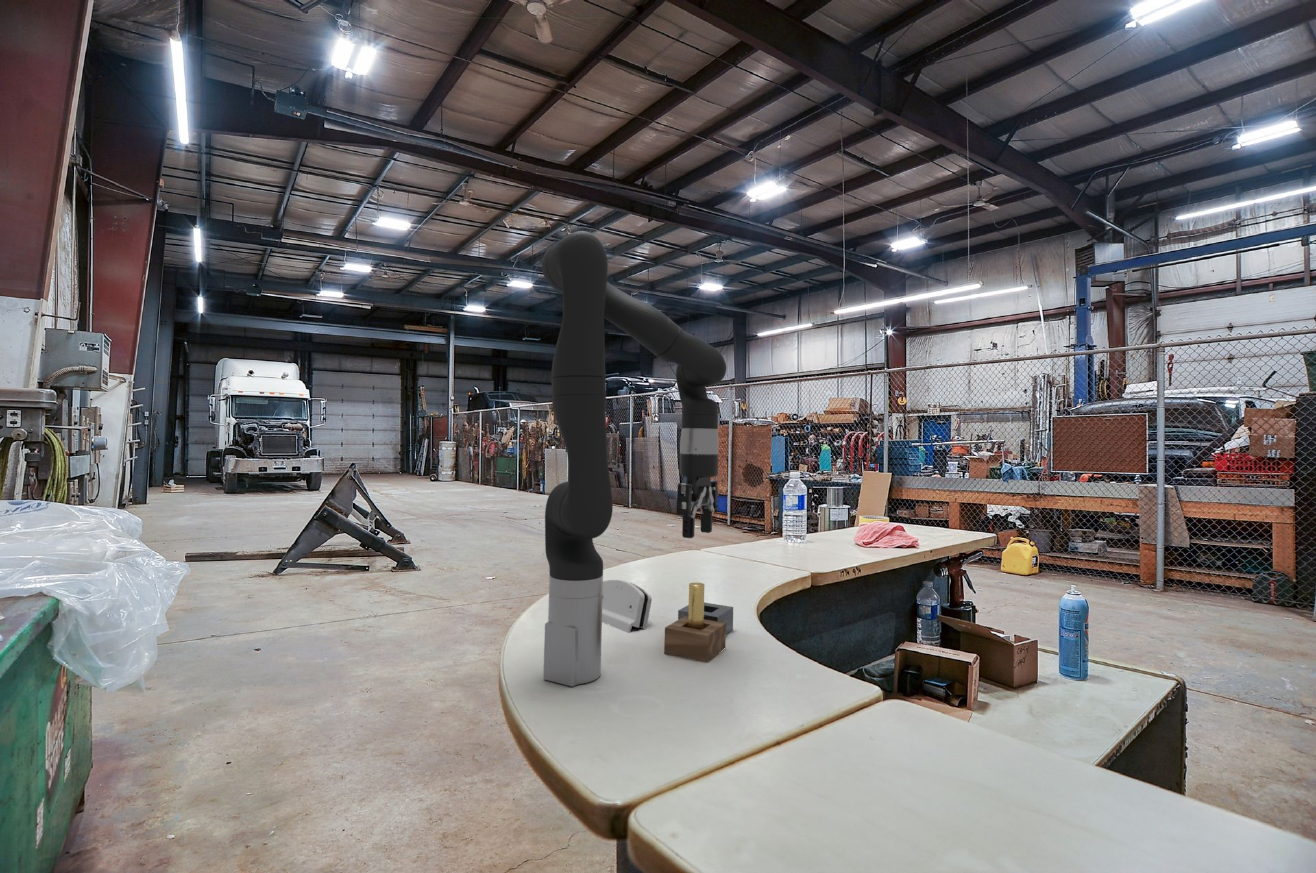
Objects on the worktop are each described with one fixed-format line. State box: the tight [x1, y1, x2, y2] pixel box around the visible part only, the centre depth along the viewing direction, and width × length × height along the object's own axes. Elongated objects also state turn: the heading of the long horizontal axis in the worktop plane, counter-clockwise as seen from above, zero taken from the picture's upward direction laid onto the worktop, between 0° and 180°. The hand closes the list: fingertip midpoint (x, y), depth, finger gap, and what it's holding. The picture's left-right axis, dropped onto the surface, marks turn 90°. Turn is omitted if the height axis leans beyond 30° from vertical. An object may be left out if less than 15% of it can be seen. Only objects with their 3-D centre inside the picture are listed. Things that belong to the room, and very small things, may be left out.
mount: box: [663, 616, 727, 663], centre depth 117 cm, size 9×9×5 cm
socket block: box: [677, 601, 734, 636], centre depth 129 cm, size 9×9×5 cm
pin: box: [688, 582, 705, 630], centre depth 117 cm, size 3×3×13 cm
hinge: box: [602, 579, 653, 634], centre depth 136 cm, size 17×5×10 cm, turn 42°
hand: (697, 534), depth 117 cm, fingers open, 8 cm apart
